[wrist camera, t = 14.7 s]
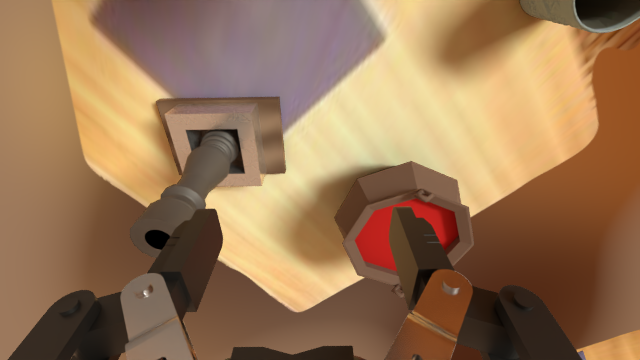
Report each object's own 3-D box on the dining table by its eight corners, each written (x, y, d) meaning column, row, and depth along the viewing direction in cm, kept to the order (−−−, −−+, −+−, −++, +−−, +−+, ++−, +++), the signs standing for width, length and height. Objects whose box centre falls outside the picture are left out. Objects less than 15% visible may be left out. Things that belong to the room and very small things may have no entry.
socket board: (160, 98, 48) (155, 101, 47) (279, 96, 48) (278, 99, 47) (182, 170, 56) (179, 174, 54) (285, 169, 56) (285, 173, 54)
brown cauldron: (335, 141, 53) (341, 192, 39) (465, 143, 53) (517, 194, 39) (330, 238, 65) (333, 303, 51) (435, 239, 66) (466, 304, 52)
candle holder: (250, 143, 51) (202, 244, 30) (225, 161, 53) (164, 269, 32) (225, 115, 48) (152, 206, 27) (200, 136, 50) (113, 235, 29)
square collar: (178, 104, 47) (164, 114, 43) (257, 102, 47) (251, 113, 43) (197, 172, 54) (186, 187, 50) (266, 171, 54) (261, 185, 50)
